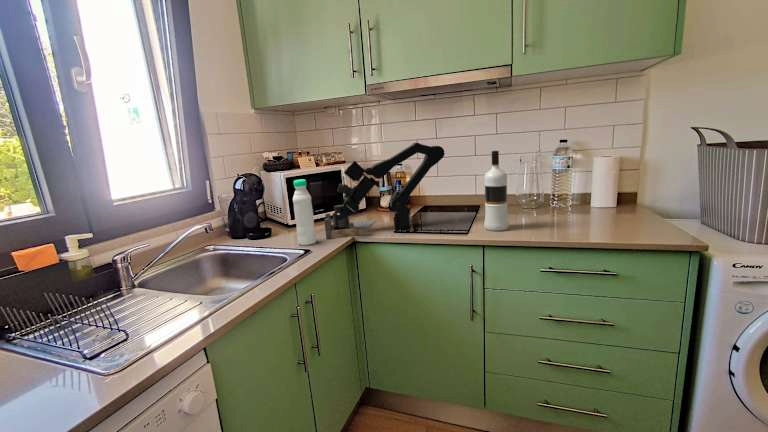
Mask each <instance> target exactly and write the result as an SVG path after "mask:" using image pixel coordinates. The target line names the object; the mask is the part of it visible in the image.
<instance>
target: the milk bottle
mask: <svg viewBox="0 0 768 432" xmlns="http://www.w3.org/2000/svg"><path fill="white" fill-rule="evenodd" d="M307 183H308V182H307V179H303V178H302V179H294V180H293V186H294V189H295V190H294V193H293V197H292V203H293V213H294V219H295V220H294V221H295V225H296V234H297V244H298V245H301V246H312V245H314V244H315V243H316V242H317V236H316V226H315V220H314V217H315V216H314V209H313V203H312V196H311V194H310V193H309V191H308V189H307Z"/></svg>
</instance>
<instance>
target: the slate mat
mask: <svg viewBox="0 0 768 432" xmlns="http://www.w3.org/2000/svg"><path fill="white" fill-rule="evenodd" d="M349 222H350V223H353V224H354V226H356V229H369V228H370V227H371V226H372V225H373V224H375V223H376V222H377V221H376V220H351V221H349Z"/></svg>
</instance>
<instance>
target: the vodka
mask: <svg viewBox="0 0 768 432" xmlns="http://www.w3.org/2000/svg"><path fill="white" fill-rule="evenodd" d="M499 152H500V151H499V150H492V151H491V169H489V170H488V171H487V172H485V174H484V177H483V178H484V179H483V181H484V200H485V201H484V202H485V203H484V208H485V215H484V216H485V218H484V223H483V225H484V229H485V230H487V231H491V232H502V231H506V230H508V229H509V227H510V222H509V218H508V192H507V191H508V187H507V186H508V174H507V173H506V171H504V170H502V169H501V168H500V158H499V157H500V156H499V155H500V153H499Z"/></svg>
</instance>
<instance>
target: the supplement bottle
mask: <svg viewBox="0 0 768 432" xmlns="http://www.w3.org/2000/svg"><path fill="white" fill-rule="evenodd" d="M343 208H344V205H343V204H337V205H334V206H333V211H334V212H333V213H332V215H331V216H332V225H334V230H342V229H350V222H351V221H350V216H348V217H346V218H344V219H342V220H340V221H339V220H338V217H339V215H340V214H341V212H342V210H343Z"/></svg>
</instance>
